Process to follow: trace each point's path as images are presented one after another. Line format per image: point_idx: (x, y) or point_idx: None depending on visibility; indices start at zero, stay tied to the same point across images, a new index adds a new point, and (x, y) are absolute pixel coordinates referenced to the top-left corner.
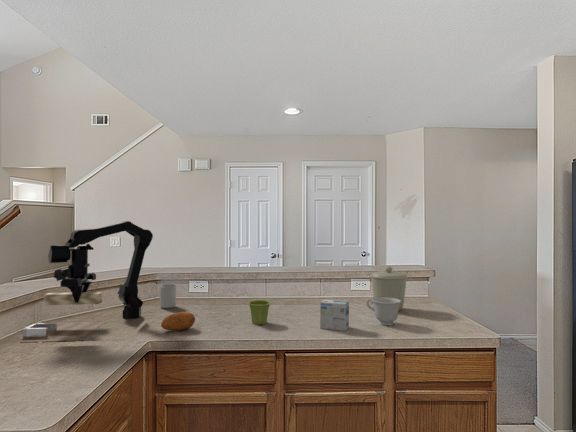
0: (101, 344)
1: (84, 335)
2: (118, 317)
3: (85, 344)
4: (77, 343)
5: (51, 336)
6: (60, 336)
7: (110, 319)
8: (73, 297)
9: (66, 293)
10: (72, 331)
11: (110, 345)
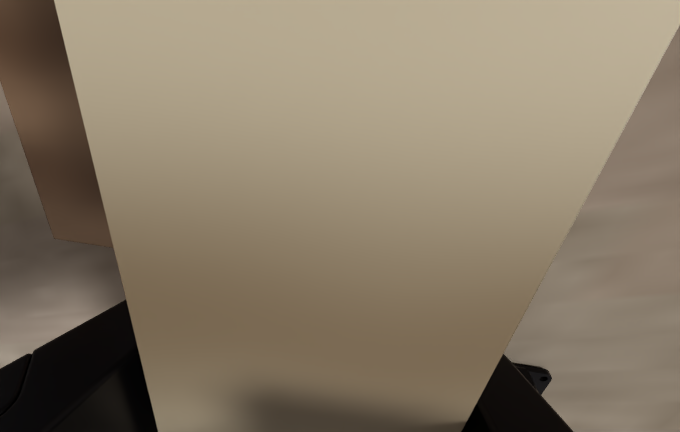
0: (43, 306)
1: (83, 238)
2: (626, 327)
3: (25, 244)
4: (31, 204)
5: (12, 11)
6: (31, 90)
7: (590, 291)
8: (121, 304)
9: (337, 73)
10: None
11: (38, 336)
